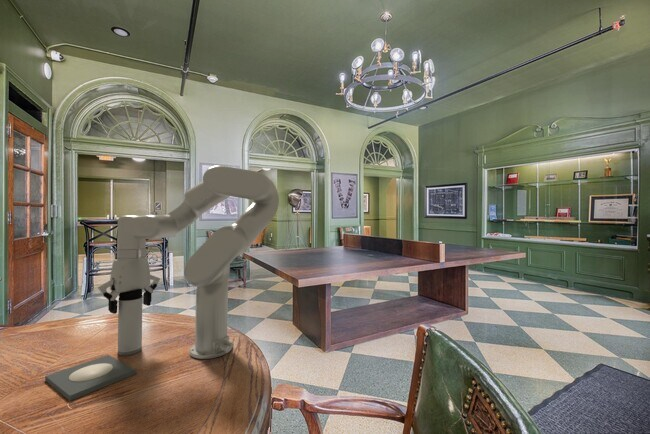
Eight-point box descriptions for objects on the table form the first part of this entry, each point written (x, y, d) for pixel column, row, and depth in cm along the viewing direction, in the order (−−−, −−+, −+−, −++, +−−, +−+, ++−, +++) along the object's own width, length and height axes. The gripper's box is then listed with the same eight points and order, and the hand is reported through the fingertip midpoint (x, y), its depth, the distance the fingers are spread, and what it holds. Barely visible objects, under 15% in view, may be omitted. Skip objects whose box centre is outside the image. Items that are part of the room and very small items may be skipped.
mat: (135, 373, 78) (135, 368, 78) (69, 401, 67) (69, 394, 67) (108, 358, 87) (108, 354, 87) (45, 380, 75) (45, 375, 75)
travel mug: (146, 346, 95) (147, 285, 96) (133, 355, 89) (134, 289, 89) (126, 346, 95) (127, 285, 95) (112, 356, 89) (113, 290, 89)
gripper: (153, 251, 102) (152, 300, 101) (93, 256, 87) (92, 314, 87) (165, 252, 98) (164, 304, 98) (105, 258, 83) (104, 318, 83)
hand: (130, 308), depth 92 cm, fingers open, 9 cm apart
